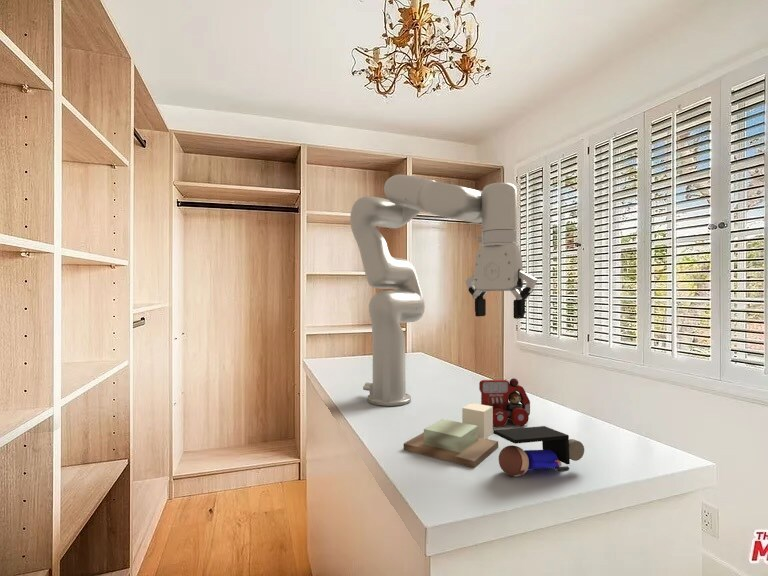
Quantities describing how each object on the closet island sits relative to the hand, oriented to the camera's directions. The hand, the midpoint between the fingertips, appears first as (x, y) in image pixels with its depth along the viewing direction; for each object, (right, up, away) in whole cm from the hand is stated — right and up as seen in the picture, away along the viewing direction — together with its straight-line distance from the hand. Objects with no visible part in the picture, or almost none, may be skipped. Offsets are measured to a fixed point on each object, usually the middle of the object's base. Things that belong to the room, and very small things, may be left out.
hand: (498, 317), depth 93 cm
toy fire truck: (+4, -26, +8) cm, 27 cm away
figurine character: (+2, -26, -19) cm, 32 cm away
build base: (-12, -26, -9) cm, 30 cm away
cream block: (-5, -26, -1) cm, 26 cm away
